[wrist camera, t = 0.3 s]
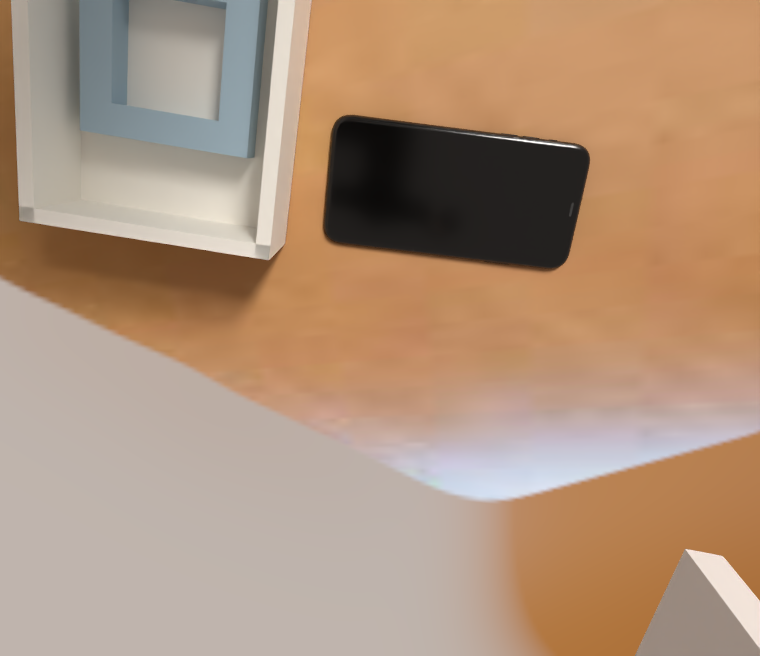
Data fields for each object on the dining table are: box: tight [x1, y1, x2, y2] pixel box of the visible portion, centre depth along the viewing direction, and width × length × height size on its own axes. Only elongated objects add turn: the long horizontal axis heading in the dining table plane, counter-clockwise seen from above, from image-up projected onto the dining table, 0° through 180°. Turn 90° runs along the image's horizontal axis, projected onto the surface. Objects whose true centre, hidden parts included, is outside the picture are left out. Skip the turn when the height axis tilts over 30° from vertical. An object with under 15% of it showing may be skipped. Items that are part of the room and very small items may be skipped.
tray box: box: [11, 0, 312, 260], centre depth 30 cm, size 22×14×6 cm, turn 171°
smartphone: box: [324, 115, 590, 269], centre depth 35 cm, size 8×1×16 cm
